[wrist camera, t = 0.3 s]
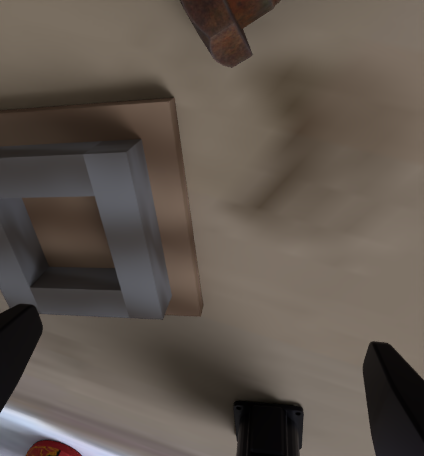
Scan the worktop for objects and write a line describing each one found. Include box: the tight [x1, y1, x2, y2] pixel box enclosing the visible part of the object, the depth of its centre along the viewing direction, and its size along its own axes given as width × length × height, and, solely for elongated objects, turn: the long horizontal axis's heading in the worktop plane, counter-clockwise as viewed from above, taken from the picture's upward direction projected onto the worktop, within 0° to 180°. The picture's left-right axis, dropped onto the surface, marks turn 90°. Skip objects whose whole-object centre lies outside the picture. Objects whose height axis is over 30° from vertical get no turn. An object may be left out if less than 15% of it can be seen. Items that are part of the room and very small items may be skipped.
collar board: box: [0, 98, 203, 320], centre depth 24 cm, size 16×16×4 cm
